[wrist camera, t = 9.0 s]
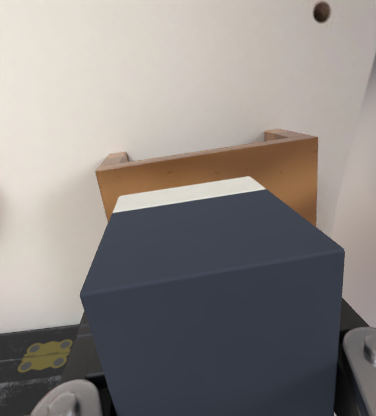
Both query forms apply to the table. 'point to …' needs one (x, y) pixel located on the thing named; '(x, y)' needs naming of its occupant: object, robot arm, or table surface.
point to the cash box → (32, 366)
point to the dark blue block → (215, 304)
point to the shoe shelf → (223, 170)
